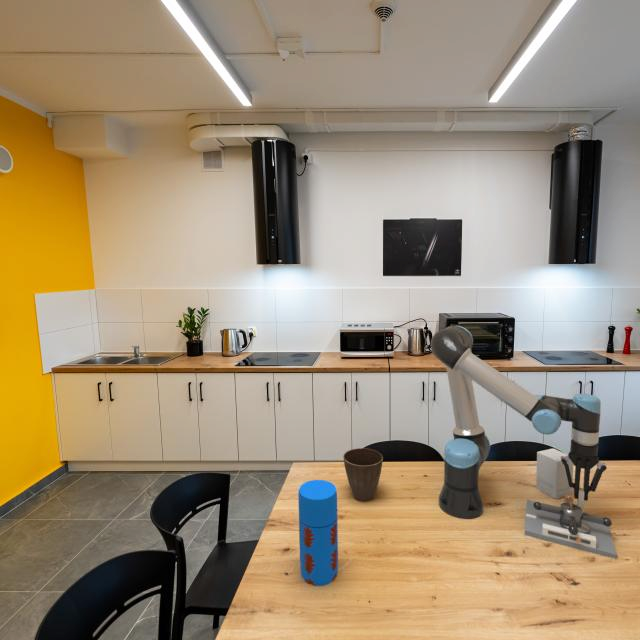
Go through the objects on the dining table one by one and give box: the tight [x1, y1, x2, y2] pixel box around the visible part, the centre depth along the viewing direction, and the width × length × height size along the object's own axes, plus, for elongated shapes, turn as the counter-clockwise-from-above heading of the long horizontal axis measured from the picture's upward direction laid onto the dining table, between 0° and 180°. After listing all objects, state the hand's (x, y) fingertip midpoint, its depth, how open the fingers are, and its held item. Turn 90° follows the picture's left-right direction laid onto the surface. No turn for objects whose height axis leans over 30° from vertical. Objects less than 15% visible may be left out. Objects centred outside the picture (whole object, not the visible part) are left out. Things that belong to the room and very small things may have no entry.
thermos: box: [297, 479, 339, 587], centre depth 112 cm, size 11×11×25 cm
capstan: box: [533, 495, 613, 535], centre depth 129 cm, size 22×22×6 cm
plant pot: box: [342, 447, 384, 502], centre depth 151 cm, size 15×15×16 cm
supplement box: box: [535, 448, 574, 500], centre depth 152 cm, size 9×9×15 cm
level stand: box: [524, 499, 618, 560], centre depth 130 cm, size 24×21×4 cm
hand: (580, 507), depth 134 cm, fingers closed
